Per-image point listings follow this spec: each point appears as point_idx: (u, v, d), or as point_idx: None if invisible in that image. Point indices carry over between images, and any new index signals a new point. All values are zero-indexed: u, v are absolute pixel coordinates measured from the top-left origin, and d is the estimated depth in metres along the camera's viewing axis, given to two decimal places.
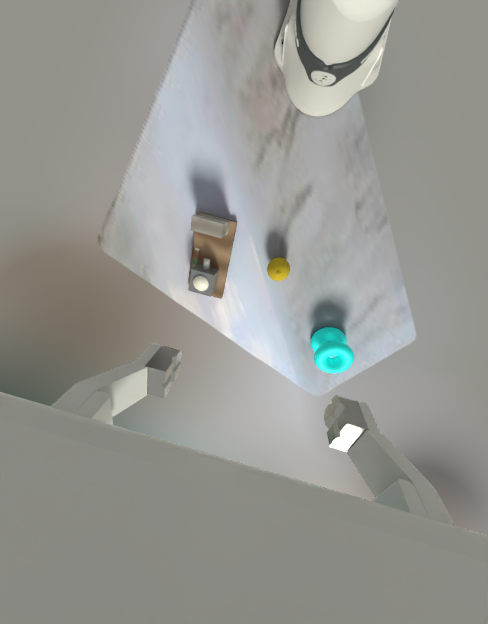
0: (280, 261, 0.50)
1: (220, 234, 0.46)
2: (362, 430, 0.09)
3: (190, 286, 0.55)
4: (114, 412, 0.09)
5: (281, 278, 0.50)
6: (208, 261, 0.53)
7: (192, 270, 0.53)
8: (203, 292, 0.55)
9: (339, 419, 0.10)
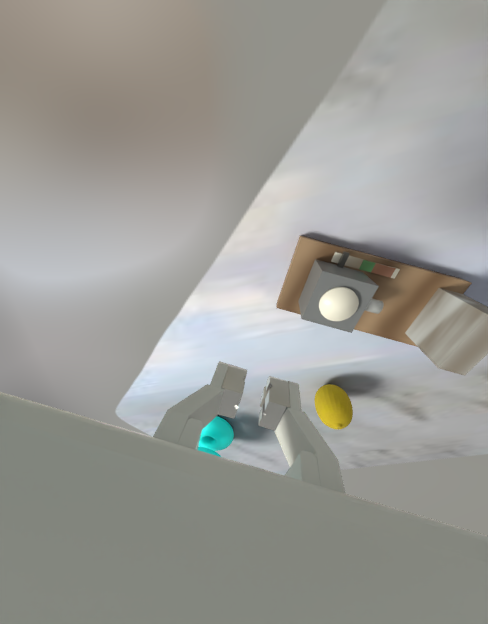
0: None
1: (446, 368, 0.23)
2: (284, 407, 0.09)
3: (332, 276, 0.22)
4: None
5: (326, 424, 0.32)
6: (376, 312, 0.25)
7: (374, 288, 0.22)
8: (313, 305, 0.24)
9: (266, 398, 0.10)
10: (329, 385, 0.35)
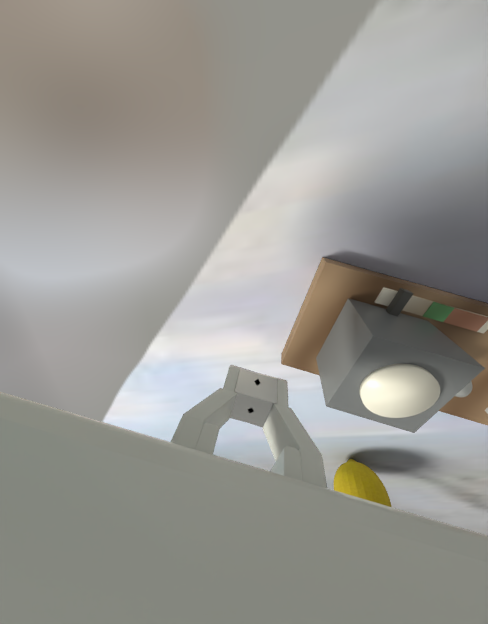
0: None
1: None
2: (270, 404, 0.09)
3: (393, 346, 0.11)
4: None
5: None
6: (455, 395, 0.14)
7: (474, 371, 0.11)
8: (349, 388, 0.13)
9: None
10: (355, 466, 0.24)
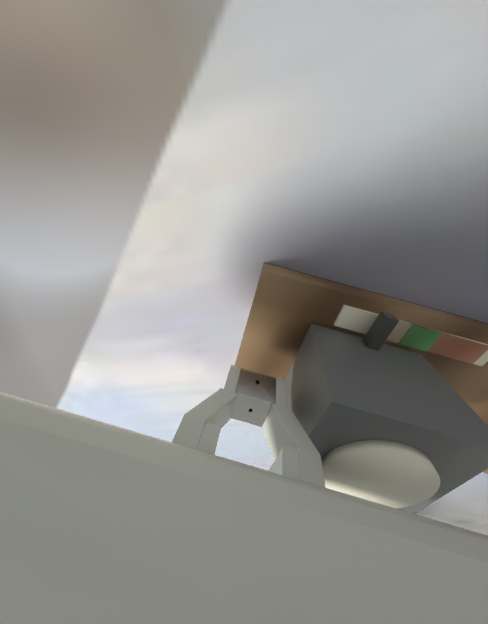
0: None
1: None
2: (269, 403, 0.09)
3: (364, 417, 0.07)
4: None
5: None
6: None
7: None
8: None
9: None
10: None
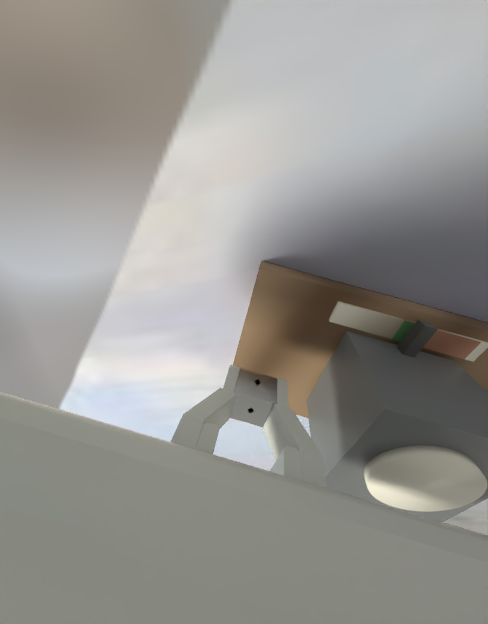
0: None
1: None
2: (270, 404, 0.09)
3: (415, 424, 0.07)
4: None
5: None
6: None
7: None
8: (348, 469, 0.09)
9: None
10: None
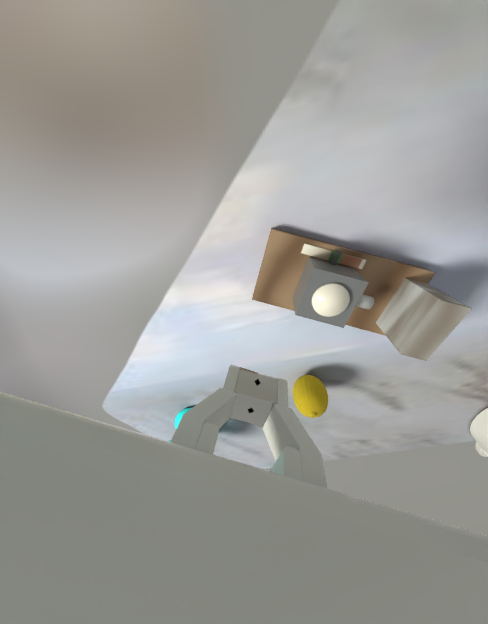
0: None
1: (408, 354, 0.24)
2: (270, 404, 0.09)
3: (324, 273, 0.23)
4: None
5: (302, 412, 0.33)
6: (367, 308, 0.26)
7: (364, 284, 0.23)
8: (306, 301, 0.25)
9: None
10: (306, 375, 0.36)
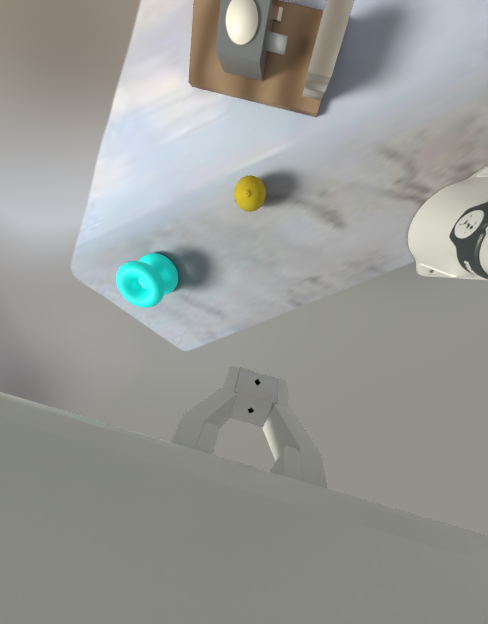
0: (263, 195, 0.36)
1: (314, 70, 0.26)
2: (271, 404, 0.09)
3: None
4: None
5: (239, 199, 0.35)
6: (282, 48, 0.28)
7: None
8: (222, 28, 0.27)
9: None
10: None
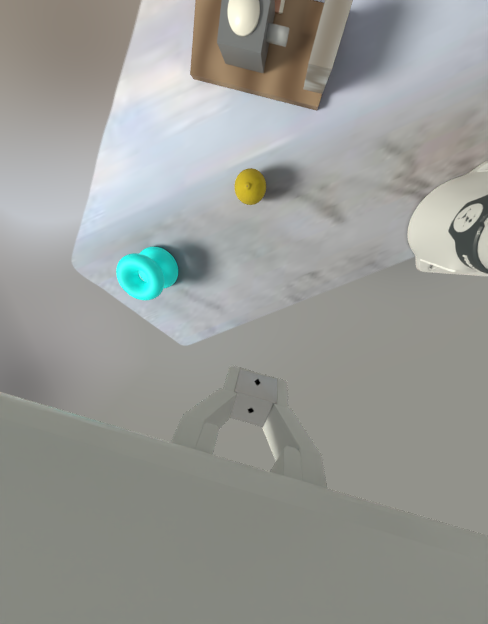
0: (263, 188, 0.36)
1: (315, 61, 0.26)
2: (271, 404, 0.09)
3: None
4: None
5: (239, 192, 0.35)
6: (284, 40, 0.28)
7: None
8: (223, 19, 0.27)
9: None
10: None
